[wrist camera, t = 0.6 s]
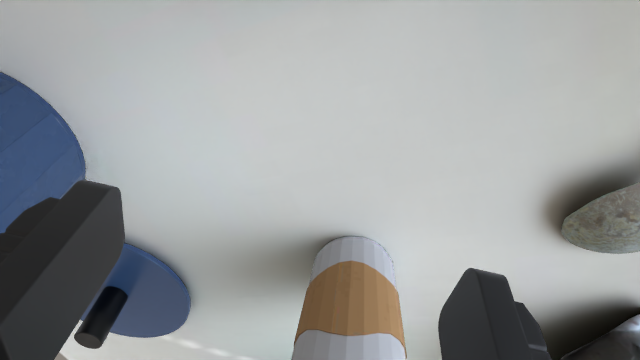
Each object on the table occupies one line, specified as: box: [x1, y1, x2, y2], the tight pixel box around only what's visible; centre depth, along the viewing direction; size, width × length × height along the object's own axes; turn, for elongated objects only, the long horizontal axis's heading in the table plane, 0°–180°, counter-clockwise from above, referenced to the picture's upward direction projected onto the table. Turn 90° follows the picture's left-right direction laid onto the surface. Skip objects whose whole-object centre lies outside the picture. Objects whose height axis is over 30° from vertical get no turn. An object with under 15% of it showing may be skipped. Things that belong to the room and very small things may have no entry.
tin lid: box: [74, 243, 191, 349], centre depth 38 cm, size 14×14×6 cm
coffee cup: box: [291, 236, 407, 360], centre depth 29 cm, size 8×8×15 cm
